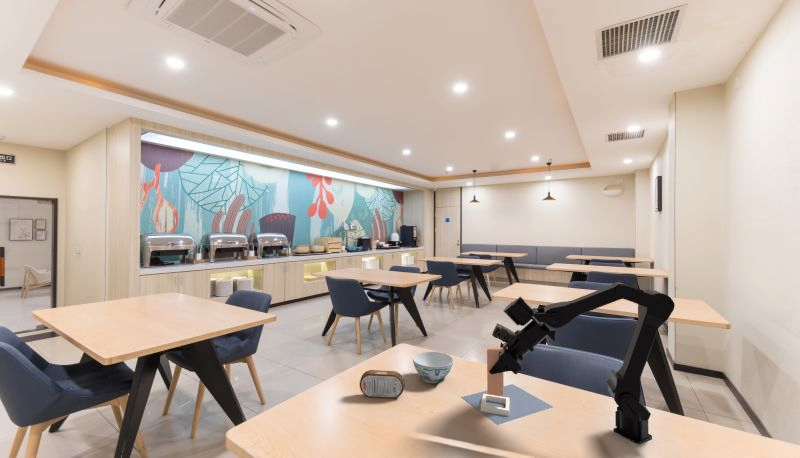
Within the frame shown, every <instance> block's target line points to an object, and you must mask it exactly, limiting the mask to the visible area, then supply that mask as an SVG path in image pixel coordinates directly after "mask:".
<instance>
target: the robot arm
mask: <svg viewBox="0 0 800 458" xmlns="http://www.w3.org/2000/svg"><path fill="white" fill-rule="evenodd" d="M620 300H626V301H628V302H632V303H633V304H635V305H636V304H637V315H638V317H637V319H638V320H637V323H636V327H635V328H634V331H633V335H632V337H631V340H630V343H629V345H628V348H627V351H626V355H625V357H624V360H623V362H622V365H621V367H620V369H619V370H617V371H616V370H615V371H614V369H611V370H610V372H609V378H608V379H607V380H606V382H605V383H606V384H607V389H608V392H609V393H610V396H611V397H612V398H613V400H614V402H615V403H616V405H617V407H616V410H615V412H614V413H615V414H614V415H615V416H614V417H615V418H614V419H615V421H614V422H615V423H614V424H615V427H614V428H613V432H614V433H616V434H618V435H621V436H622V437H624V438H626V439H628V440H629V441H631V442H634V443H636V444H637V445H639V444H642V443H644V442H646V441H649V440H651V439H653V435H652V434H650V433H649V419H650V417H651V415H652V413H651V412H650V411H649V409H648V408H647V407H646V405H645V404H644V403H643V401H642V399H641V396H642V385H641V384H642V381H641V378H642V375H643V373H644V372H643V371H644V369H645V366H646V364H647V361H648V358H649V356H650V353H651V350H652V347H653V344H654V341H655V339H656V337H657V333H658V331H659V329H660V328H661V326H663V325H664V324H665V323H666V322H667V321H668V319H669V318H670V317H671V315H672V313H673V312H674V310H675V306H676V305H675V302H674V301H673V299H672V297H670V296H669V295H667V294H665V293H663V292H660V291H658V290H656V289H655V290H654V289H647V290H643V289H640V288H637V287H633V286H629V285H627V284H626V283H622V282H619V281H617V282H613V283H612V284H611V285H608V286H606V287H602V288H600V289H598V290H596V291H593V292H590V293H587V294H586V295H582V296H579V297H577V298H575V299H573V300H568V301H566V300H565V301H559V302H555V303H549V304H547V305H545V306H544V307H534V308H533V307H531V306H530V305H529V304H528V303H527V302H526V301H525V299H524V298H523V297H522V296H519V297H518V298H516V299H514V300H513V301H511V302H510V303H508V304H507V306H506V307H505V308H504V309H503V313H505V314H506V315H507V316H508V318H509V319H510V320H511V321H512V322H513V323H514V324H516V326H517V327H518V326H522V327H523V328H521V329H517V330H515V331H513V330H512V329H510V328H507V327H506V326H503V324H500V323H496V324H495V326H494V329H493V331H492V334H491V336H492V337H493V338H495V339H498V340H500V341H502V342H500V345H499V347H501V348H503V351H502V352H500V351H499V359H498V361H497V362H496V363H495V364H494V366H493V367H492V368H491V369H490V371H489V372H490V374H497V373H502V372H504V373H506V372H512V373H513V375H517V374H519V373H520V372H521V371H522V362H521V361H522V360H524V356H526V355H527V354H528V353H529V352H531V353H532V352H534V351H535V347H536V346H538V345H539V344H540V343H541V342H542V341H544V339H546V338H547V337H549V338H550V339H551V340H552V341H554V342H555V341H556V329H561V328H563V327H564V326H566V325H568V324H569V323H571V322H572V321H574V319H576V318H577V317H578V316H580V315H582V314H583V315H584V314H585V313H588V312H591V311H593V310H596V309H598V308H602V307H604V306H607V305H610V304H613V303H615V302H616V301H617V302H618V301H620Z"/></svg>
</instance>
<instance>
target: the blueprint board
mask: <svg viewBox="0 0 800 458" xmlns="http://www.w3.org/2000/svg"><path fill="white" fill-rule="evenodd" d="M483 394H487V390H483V391H479V392H475V393H472V394H468V395H464V396H460V398H461V399H463V401H465V402H466V403H467V404H469V405H470V406H471V407H473V408H474V409H476V410H477V411H478V412H480V414H482V415H484V417H486V418H488V419H489V421H491V422H493V423H494V424H495V425H497V426H498V425H501V424H504V423H508V422H510V421H514V420H517V419H520V418H522V417H527V416H528V415H529V416H530V415H532V414H536V413H538V412H543V411H545V410H549V409H552V408H554V406H553V405H552V404H549V403H547V402H546V401H544V400H542V399H541V398H538V397H536V396H535V395H533V394H531V393H530V392H528V391H526V390H525V389H523V388H520V387H519V386H517V385H515V384H514V383H511V384H508V385H504V393H503V397H508V398H510V407H509V416H505V415H499V414H494V413H488V412H482V411H481V402H482V398H483ZM486 405H489V406H495V407H501V408H506V404H504V403H498V402H492V401H486Z"/></svg>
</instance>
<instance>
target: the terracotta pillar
mask: <svg viewBox="0 0 800 458" xmlns="http://www.w3.org/2000/svg"><path fill="white" fill-rule="evenodd" d="M499 351H500V352H502V351H503V348H501V347H500V346H499V347H498V346H492V345H491V346H490V345H488V346H487V350H486V369H487V370H486V372H487V373H486V375H487V376H486V378H487V379H486V381H487V382H486V383H487V384H486V385H487V388H486V389H487V390H486V391H487V394H488V395H495V396H501V397H503V393H504V386H505V385H504V384H505V381H504V376H505V375H504V373H505V372H502V373H497V374H490V372H489V371H490V369H491V368H492V367H493V366H494V364H495V363H496V362H497V361H498V359H499Z"/></svg>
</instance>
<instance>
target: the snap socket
mask: <svg viewBox="0 0 800 458" xmlns="http://www.w3.org/2000/svg"><path fill="white" fill-rule="evenodd" d="M486 401H492V402H498V403H504V404H506V408H501V407H495V406H489V405H486ZM509 407H510V398H508V397H501V396H495V395H488V394H483V398H482V402H481V411H482V412H488V413H494V414H499V415H505V416H509Z"/></svg>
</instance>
